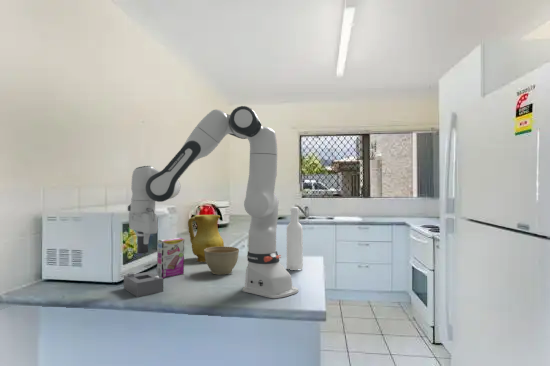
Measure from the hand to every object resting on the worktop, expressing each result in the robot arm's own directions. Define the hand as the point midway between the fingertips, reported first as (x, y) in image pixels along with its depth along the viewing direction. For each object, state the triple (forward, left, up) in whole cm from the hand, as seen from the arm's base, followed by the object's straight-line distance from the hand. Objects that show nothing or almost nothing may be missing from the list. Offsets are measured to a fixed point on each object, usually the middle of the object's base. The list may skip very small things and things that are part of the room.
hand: (142, 243), depth 139 cm
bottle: (-15, -68, -18) cm, 72 cm away
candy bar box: (+14, -18, -19) cm, 29 cm away
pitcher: (+33, -48, -19) cm, 61 cm away
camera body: (0, 0, -18) cm, 18 cm away
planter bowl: (+3, -38, -19) cm, 42 cm away
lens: (0, 0, -4) cm, 4 cm away
